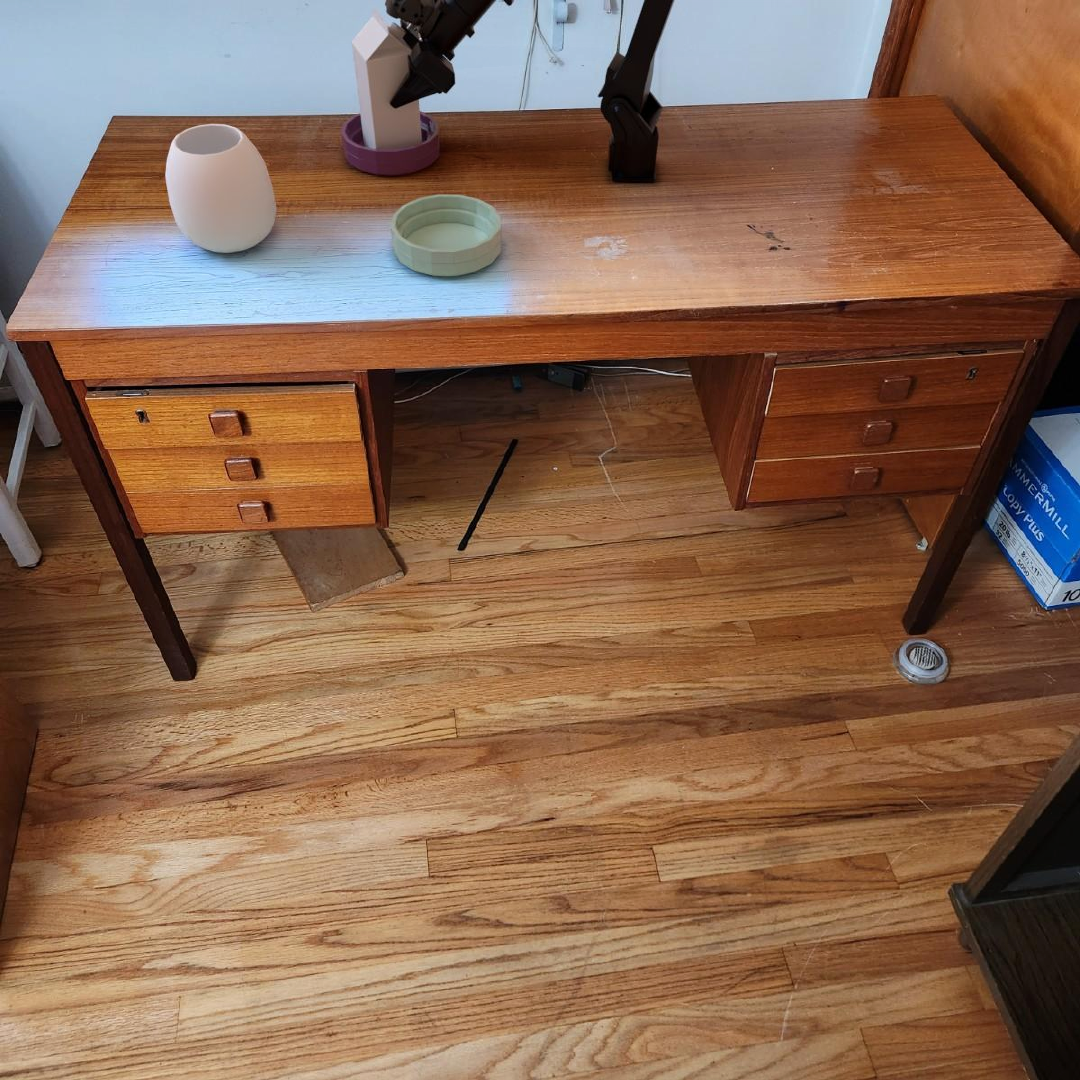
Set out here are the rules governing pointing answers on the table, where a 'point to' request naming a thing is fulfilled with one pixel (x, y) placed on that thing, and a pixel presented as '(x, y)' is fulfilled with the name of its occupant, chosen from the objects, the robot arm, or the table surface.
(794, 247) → the table surface
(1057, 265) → the table surface
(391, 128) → the milk carton
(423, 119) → the plum bowl
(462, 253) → the celadon bowl
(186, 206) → the cup
